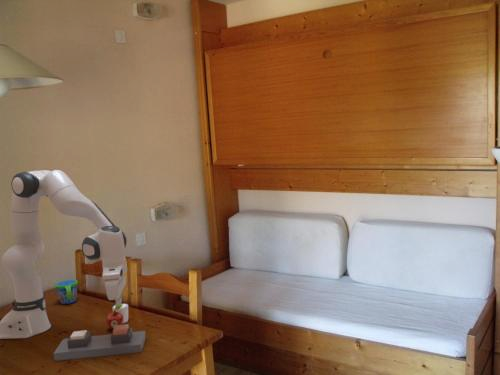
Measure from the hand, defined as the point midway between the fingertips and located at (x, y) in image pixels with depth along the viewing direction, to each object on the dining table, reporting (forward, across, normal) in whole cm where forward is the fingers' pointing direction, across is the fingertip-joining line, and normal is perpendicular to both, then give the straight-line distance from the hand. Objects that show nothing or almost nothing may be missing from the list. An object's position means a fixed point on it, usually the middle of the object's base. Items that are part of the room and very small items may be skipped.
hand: (119, 303), depth 192 cm
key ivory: (+13, 0, -16) cm, 21 cm away
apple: (+18, -20, -6) cm, 27 cm away
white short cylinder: (+18, -28, -5) cm, 34 cm away
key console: (+17, 0, -8) cm, 19 cm away
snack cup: (+17, -62, -37) cm, 74 cm away
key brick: (+12, 0, 0) cm, 12 cm away
